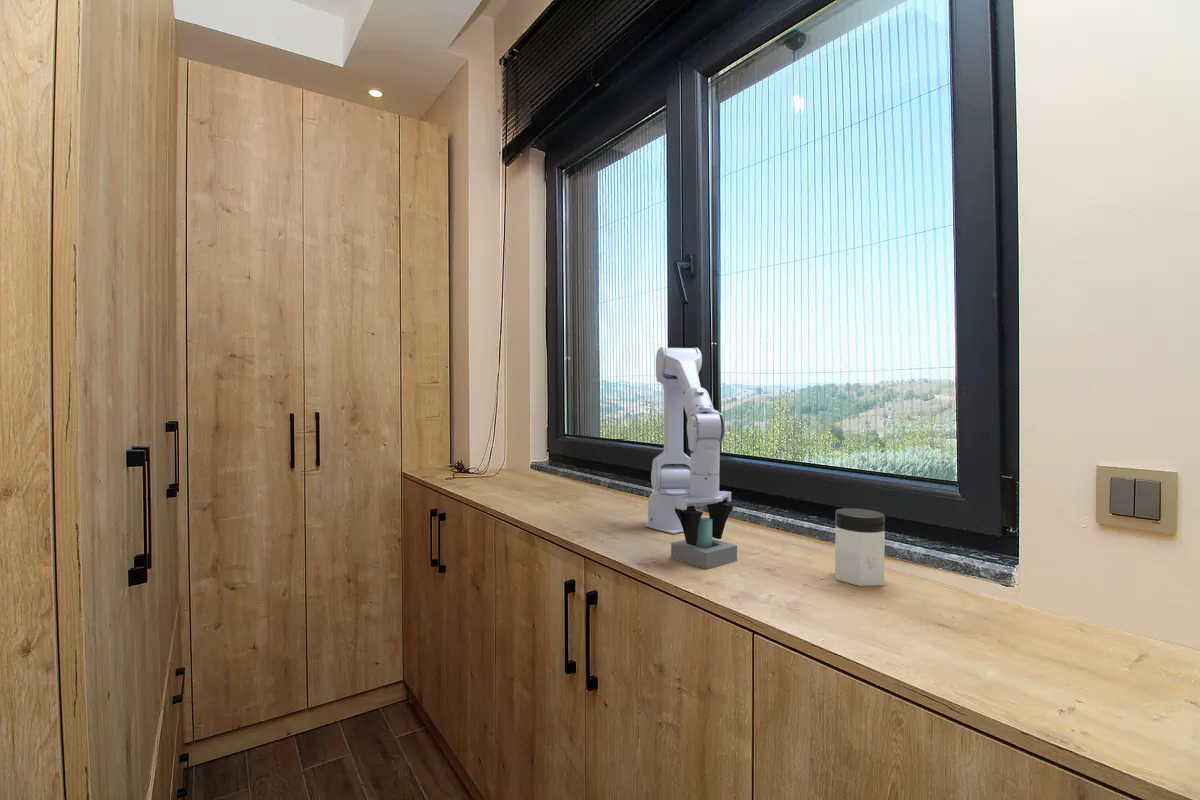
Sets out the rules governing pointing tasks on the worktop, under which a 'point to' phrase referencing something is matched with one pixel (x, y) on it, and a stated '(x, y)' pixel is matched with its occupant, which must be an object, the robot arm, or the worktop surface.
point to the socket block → (704, 553)
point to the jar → (859, 547)
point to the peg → (704, 533)
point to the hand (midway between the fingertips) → (704, 541)
